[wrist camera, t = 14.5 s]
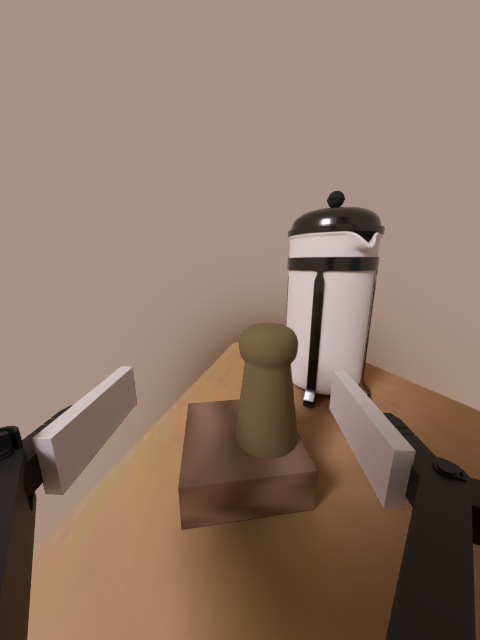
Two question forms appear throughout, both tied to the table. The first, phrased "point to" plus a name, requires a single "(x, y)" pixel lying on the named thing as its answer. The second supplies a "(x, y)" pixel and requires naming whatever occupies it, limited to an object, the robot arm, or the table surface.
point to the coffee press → (331, 293)
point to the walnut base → (237, 473)
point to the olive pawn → (267, 391)
